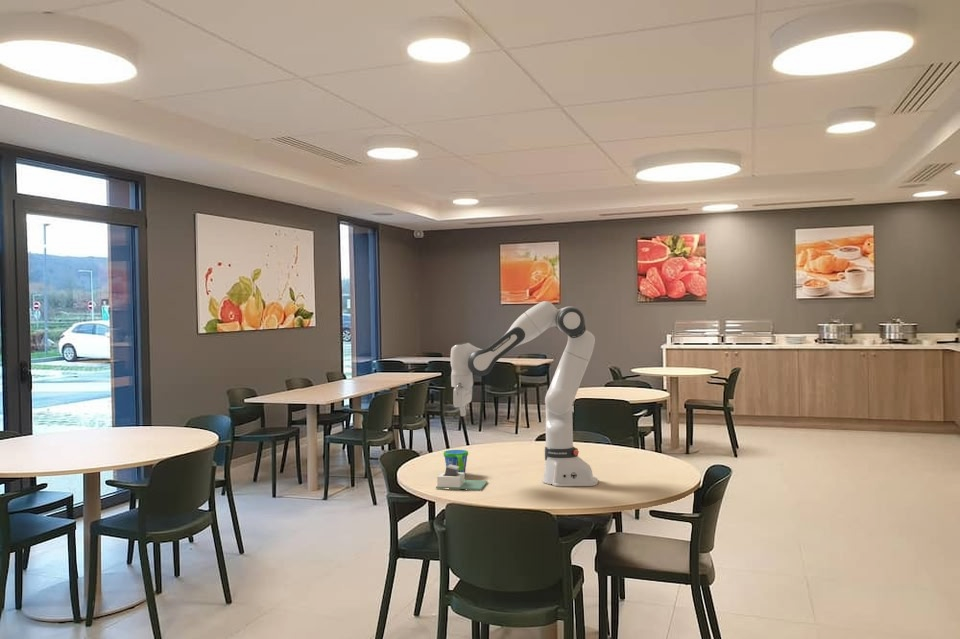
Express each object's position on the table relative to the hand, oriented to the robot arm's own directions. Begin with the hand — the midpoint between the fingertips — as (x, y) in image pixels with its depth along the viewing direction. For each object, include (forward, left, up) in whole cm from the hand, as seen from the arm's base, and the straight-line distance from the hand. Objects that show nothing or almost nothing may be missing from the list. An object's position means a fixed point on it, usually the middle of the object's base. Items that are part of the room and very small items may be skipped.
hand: (463, 415), depth 280 cm
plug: (+4, +8, -26) cm, 28 cm away
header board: (-1, +7, -27) cm, 28 cm away
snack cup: (+6, -12, -27) cm, 31 cm away
